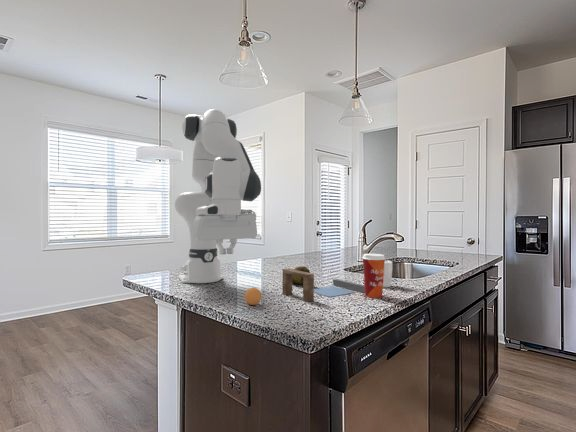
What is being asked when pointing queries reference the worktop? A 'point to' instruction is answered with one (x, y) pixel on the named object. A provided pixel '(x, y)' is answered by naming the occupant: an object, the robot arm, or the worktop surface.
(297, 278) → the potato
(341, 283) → the grey long bar
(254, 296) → the ball
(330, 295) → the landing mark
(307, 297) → the bridge
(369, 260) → the coffee cup
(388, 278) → the white cup
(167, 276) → the worktop surface
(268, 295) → the worktop surface
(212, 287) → the worktop surface
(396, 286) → the worktop surface
